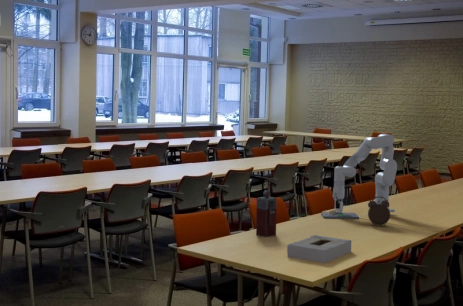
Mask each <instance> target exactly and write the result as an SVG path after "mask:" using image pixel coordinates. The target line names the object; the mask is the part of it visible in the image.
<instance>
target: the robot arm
mask: <svg viewBox="0 0 463 306" xmlns="http://www.w3.org/2000/svg"><path fill="white" fill-rule="evenodd" d="M394 142H395V137H394V136H393V135H391V134H388V133H380V134H378V135H377V137H376V136H375V137H373V136H367V137H365V138H364V140H363V141H362V142H361V144H360V145H359V147H357V148H358V149H357V150H356V151H355V152H354V153H353V154H352V155H351V156H349V158H348V159H347V160H346V161H345V162H344V164H343V166H341V165H340V166H339V165H337V166H335V167H334V170H333V171H334V173H333V175H334V177H333V190H332V199H333V200H334V204H335V203H336V208H338V209H339V208H340V203H339V201H342V202H343V200H344V198H345V181H346V180H345V178H346V177H349V178H352V177H353V178H354V176H356V174H357V169H356V168H355V167H356V165H357V164H359V163H360V162H363V161H364V160H366V159H367V158H368V156H369V155H370V153H371V152H372V150H377V149H381V156H380V161H379V168H380V169H381V170H382V171H380V172H377V173H376V174H375V177H374V185H375V195H374V197H384V198H385V199H386V201H387V200H388V201H389V197H390V191H389V190H390V187H391V186H392V185H393V184H394V183H395V179H396V175H397V170H398V163H397V161H396V160H395V159H394V153H395V148H394V145H393V144H394ZM384 198H374V201H375V202H376V203H377V204H378V203H379V204H381V202H382V201H383V200H385V199H384ZM378 201H380V202H378ZM387 208H388V207H387ZM388 209H389V212H390V213H395V211H396V210H395V209H390V207H389V208H388Z"/></svg>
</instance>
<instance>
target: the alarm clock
mask: <svg viewBox="0 0 463 306" xmlns="http://www.w3.org/2000/svg"><path fill="white" fill-rule="evenodd" d="M375 198H384V197H375V196H374V197H373V198H372V200H371V199H369V202H367V206H368V211H367V217H368V219H369V221H370V222H371V226H375V225H376V226H383V225H384V227H386V224H388V222H389V221H390V218H391V212H389V209H390V202H389V200H387V201H386V199H385V198H384V199H385V200H383V201H382V202H381V204H379V203H378V204H377V203H376V202H375ZM378 202H380V201H378ZM387 207H388V208H389V209H388V208H387Z"/></svg>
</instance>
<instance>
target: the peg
mask: <svg viewBox="0 0 463 306" xmlns="http://www.w3.org/2000/svg"><path fill="white" fill-rule="evenodd" d="M339 203H340V208H339V209H338V208H336V203H335V202H334V209H333V210H332V209H331V210H329V211H328V213H329V214H336V213H338V214H341V213H343V211H344V202H343V200H342V201H339Z"/></svg>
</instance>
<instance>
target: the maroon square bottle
mask: <svg viewBox="0 0 463 306" xmlns="http://www.w3.org/2000/svg"><path fill="white" fill-rule="evenodd" d="M262 194H263V195H262V196H260V197H257V198H256V218H255V219H256V221H255V222H256V225H255V226H256V227H255V228H256V229H255V235H256V236H260V237H265V238H269V237H273V236H277V205H278V204H277V203H278V202H277V201H278V199H277V197H273V196H271V191H270V190H267V189H265V190H264V191H263V193H262Z"/></svg>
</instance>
